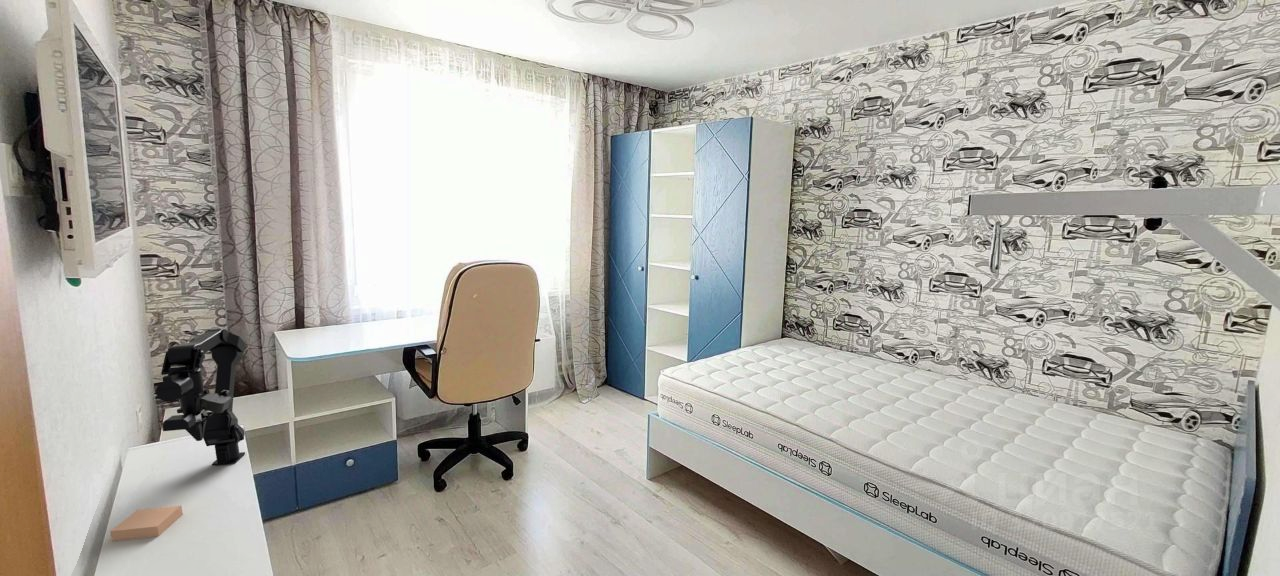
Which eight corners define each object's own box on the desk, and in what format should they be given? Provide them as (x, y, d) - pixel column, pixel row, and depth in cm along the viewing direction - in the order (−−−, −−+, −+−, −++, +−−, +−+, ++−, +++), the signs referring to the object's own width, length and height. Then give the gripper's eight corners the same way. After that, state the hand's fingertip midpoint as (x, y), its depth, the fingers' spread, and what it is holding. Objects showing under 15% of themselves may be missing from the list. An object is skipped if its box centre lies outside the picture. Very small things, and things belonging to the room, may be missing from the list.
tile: (137, 509, 137) (109, 531, 129) (181, 505, 139) (157, 526, 130) (139, 520, 138) (112, 542, 129) (183, 515, 140) (159, 537, 131)
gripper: (204, 398, 143) (213, 452, 145) (240, 375, 161) (247, 424, 163) (155, 402, 140) (165, 457, 143) (198, 378, 158) (206, 427, 161)
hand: (199, 440), depth 153 cm, fingers closed
